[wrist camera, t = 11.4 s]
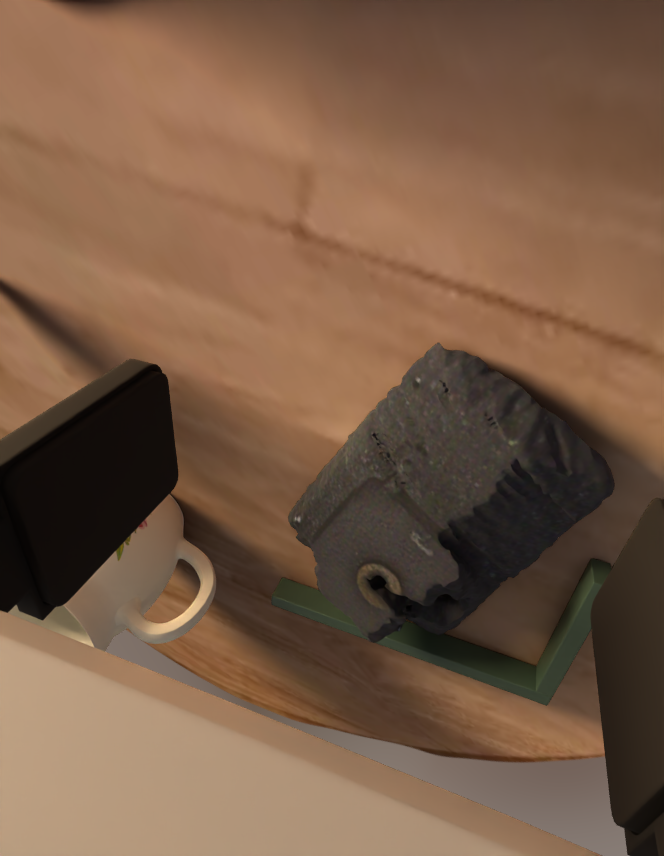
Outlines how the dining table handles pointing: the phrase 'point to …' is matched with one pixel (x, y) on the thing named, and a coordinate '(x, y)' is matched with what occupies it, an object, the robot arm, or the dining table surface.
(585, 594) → the corner stop
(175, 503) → the pitcher
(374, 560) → the dark slate chunk
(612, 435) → the dining table surface
